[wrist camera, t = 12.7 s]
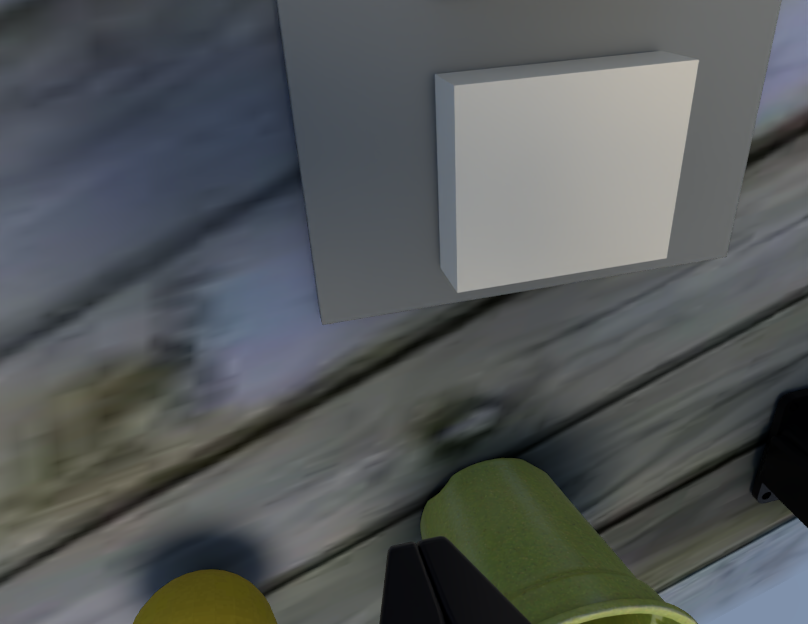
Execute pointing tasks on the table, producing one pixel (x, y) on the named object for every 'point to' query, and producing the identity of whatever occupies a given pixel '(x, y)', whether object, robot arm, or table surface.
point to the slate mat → (417, 138)
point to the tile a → (559, 165)
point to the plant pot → (540, 548)
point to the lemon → (207, 601)
